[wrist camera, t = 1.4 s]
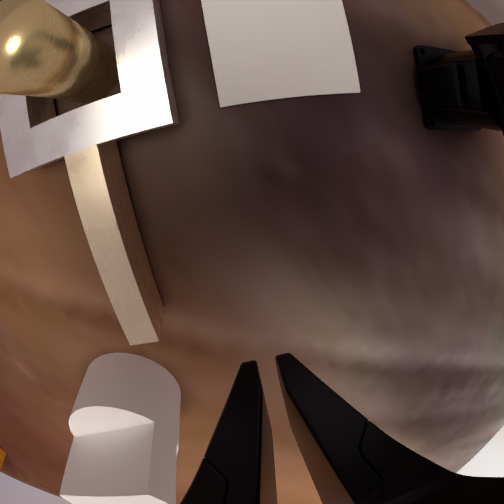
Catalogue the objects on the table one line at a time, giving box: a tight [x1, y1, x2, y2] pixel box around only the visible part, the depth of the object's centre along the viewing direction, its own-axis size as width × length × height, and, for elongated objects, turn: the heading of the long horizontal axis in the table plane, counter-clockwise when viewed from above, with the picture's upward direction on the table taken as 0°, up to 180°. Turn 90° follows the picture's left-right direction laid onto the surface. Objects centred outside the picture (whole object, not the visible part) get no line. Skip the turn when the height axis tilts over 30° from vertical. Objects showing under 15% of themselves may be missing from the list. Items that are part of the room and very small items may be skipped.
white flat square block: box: [201, 0, 361, 108], centre depth 16 cm, size 9×9×1 cm
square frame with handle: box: [0, 0, 180, 345], centre depth 15 cm, size 10×22×4 cm, turn 9°
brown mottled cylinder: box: [0, 0, 119, 102], centre depth 11 cm, size 4×4×10 cm
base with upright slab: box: [59, 353, 181, 504], centre depth 19 cm, size 9×9×12 cm
